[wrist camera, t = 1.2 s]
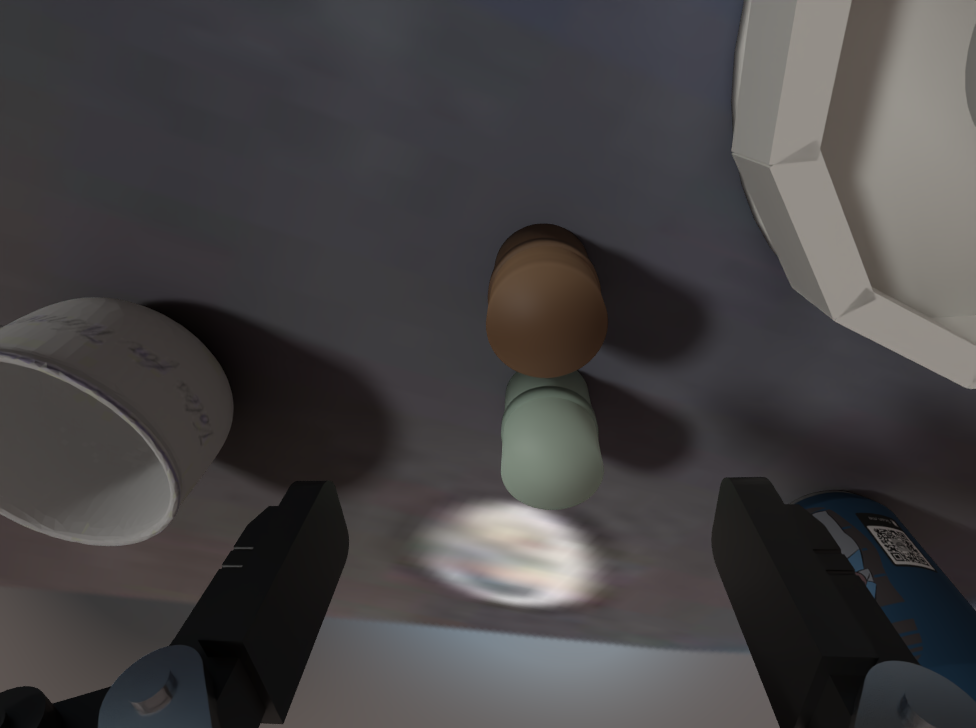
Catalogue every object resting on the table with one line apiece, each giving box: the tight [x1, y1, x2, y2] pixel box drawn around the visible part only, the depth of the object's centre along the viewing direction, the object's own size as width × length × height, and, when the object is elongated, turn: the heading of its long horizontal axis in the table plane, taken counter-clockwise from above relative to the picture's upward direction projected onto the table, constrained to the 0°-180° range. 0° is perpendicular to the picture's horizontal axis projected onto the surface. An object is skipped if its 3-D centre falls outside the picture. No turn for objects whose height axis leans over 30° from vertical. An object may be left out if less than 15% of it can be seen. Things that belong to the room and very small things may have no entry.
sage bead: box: [501, 370, 604, 510], centre depth 24 cm, size 5×5×6 cm
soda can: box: [790, 490, 976, 702], centre depth 25 cm, size 7×7×12 cm
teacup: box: [0, 297, 234, 546], centre depth 24 cm, size 14×11×8 cm
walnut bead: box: [486, 224, 608, 378], centre depth 21 cm, size 5×5×6 cm
